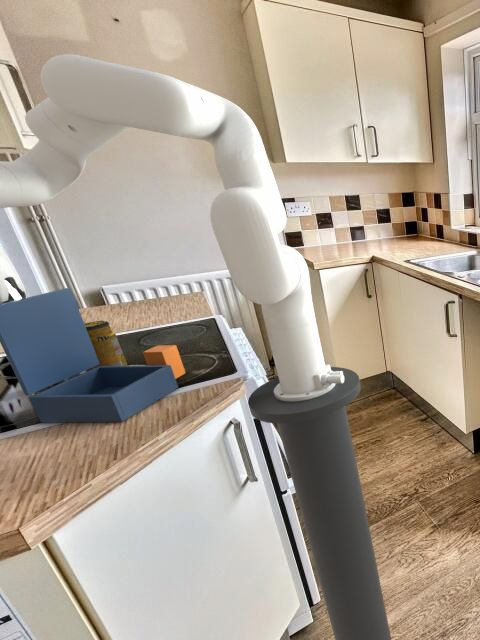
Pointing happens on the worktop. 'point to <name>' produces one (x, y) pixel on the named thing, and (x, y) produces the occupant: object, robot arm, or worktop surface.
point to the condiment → (105, 344)
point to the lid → (45, 339)
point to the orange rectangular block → (165, 358)
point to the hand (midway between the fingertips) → (11, 339)
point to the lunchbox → (104, 394)
